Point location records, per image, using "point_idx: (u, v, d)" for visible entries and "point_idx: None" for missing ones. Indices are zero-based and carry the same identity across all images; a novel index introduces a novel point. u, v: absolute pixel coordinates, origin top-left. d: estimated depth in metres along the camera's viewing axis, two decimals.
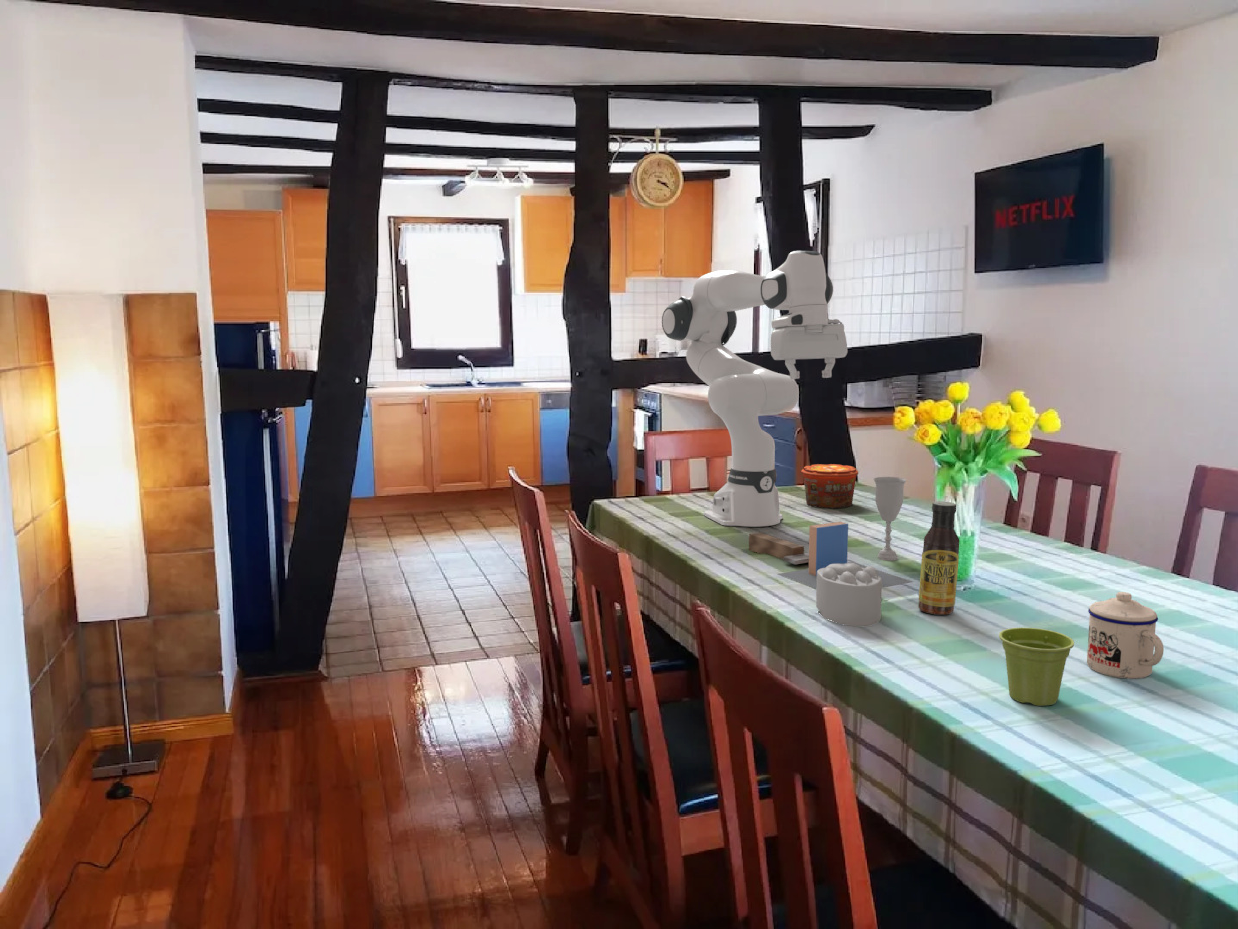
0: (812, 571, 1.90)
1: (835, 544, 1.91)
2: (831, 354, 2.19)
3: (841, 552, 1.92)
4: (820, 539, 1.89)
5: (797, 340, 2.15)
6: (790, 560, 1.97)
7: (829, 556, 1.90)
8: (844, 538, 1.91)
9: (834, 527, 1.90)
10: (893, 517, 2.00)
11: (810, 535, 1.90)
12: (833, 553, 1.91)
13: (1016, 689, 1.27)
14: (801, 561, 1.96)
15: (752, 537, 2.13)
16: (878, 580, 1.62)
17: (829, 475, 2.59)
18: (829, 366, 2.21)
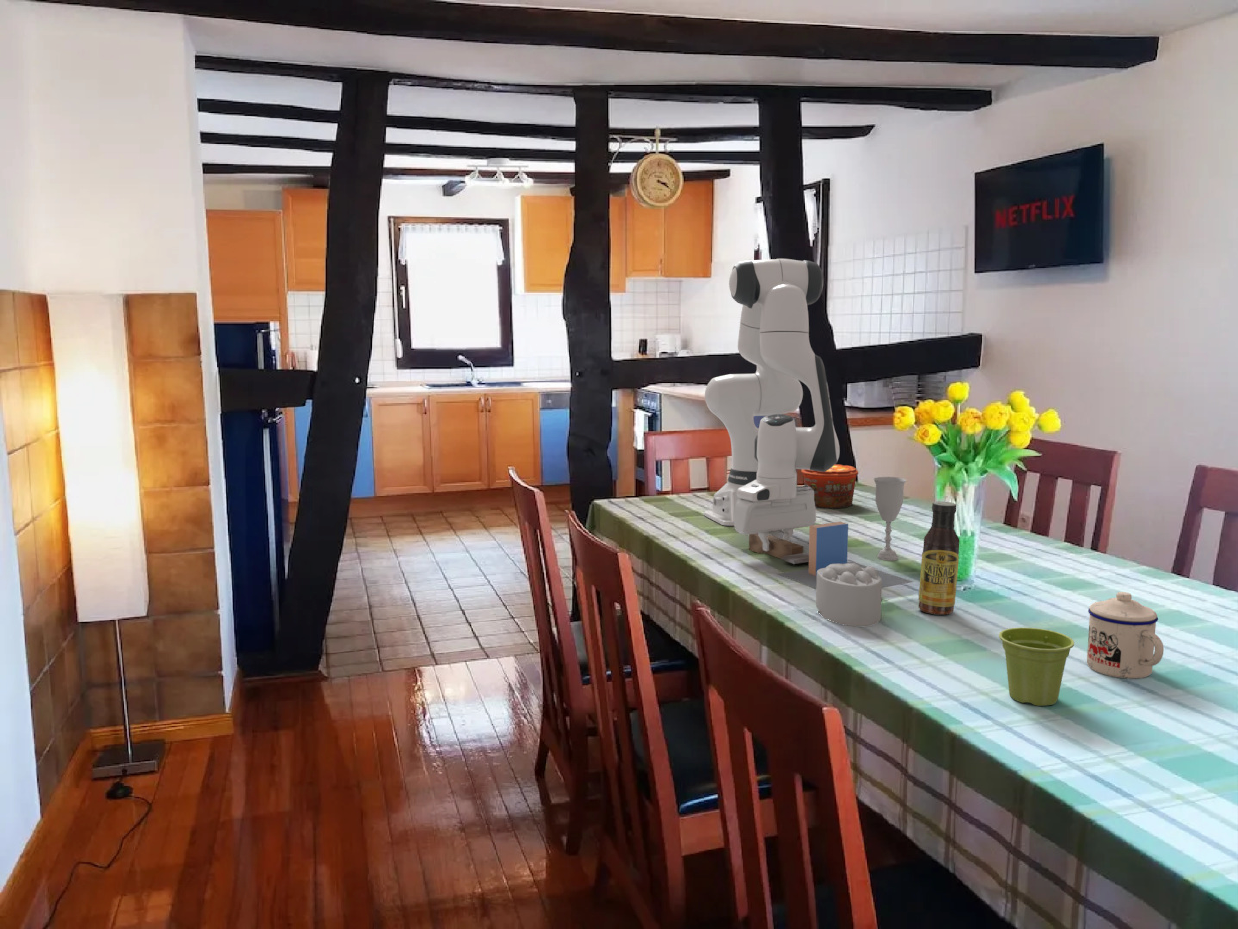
0: (812, 571, 1.90)
1: (835, 544, 1.91)
2: (798, 525, 2.08)
3: (841, 552, 1.92)
4: (820, 539, 1.89)
5: (762, 514, 2.03)
6: (789, 559, 1.97)
7: (829, 556, 1.90)
8: (844, 538, 1.91)
9: (834, 527, 1.90)
10: (893, 517, 2.00)
11: (810, 535, 1.90)
12: (833, 553, 1.91)
13: (1016, 689, 1.27)
14: (800, 561, 1.96)
15: (752, 536, 2.13)
16: (878, 580, 1.62)
17: (829, 475, 2.59)
18: (787, 537, 2.08)
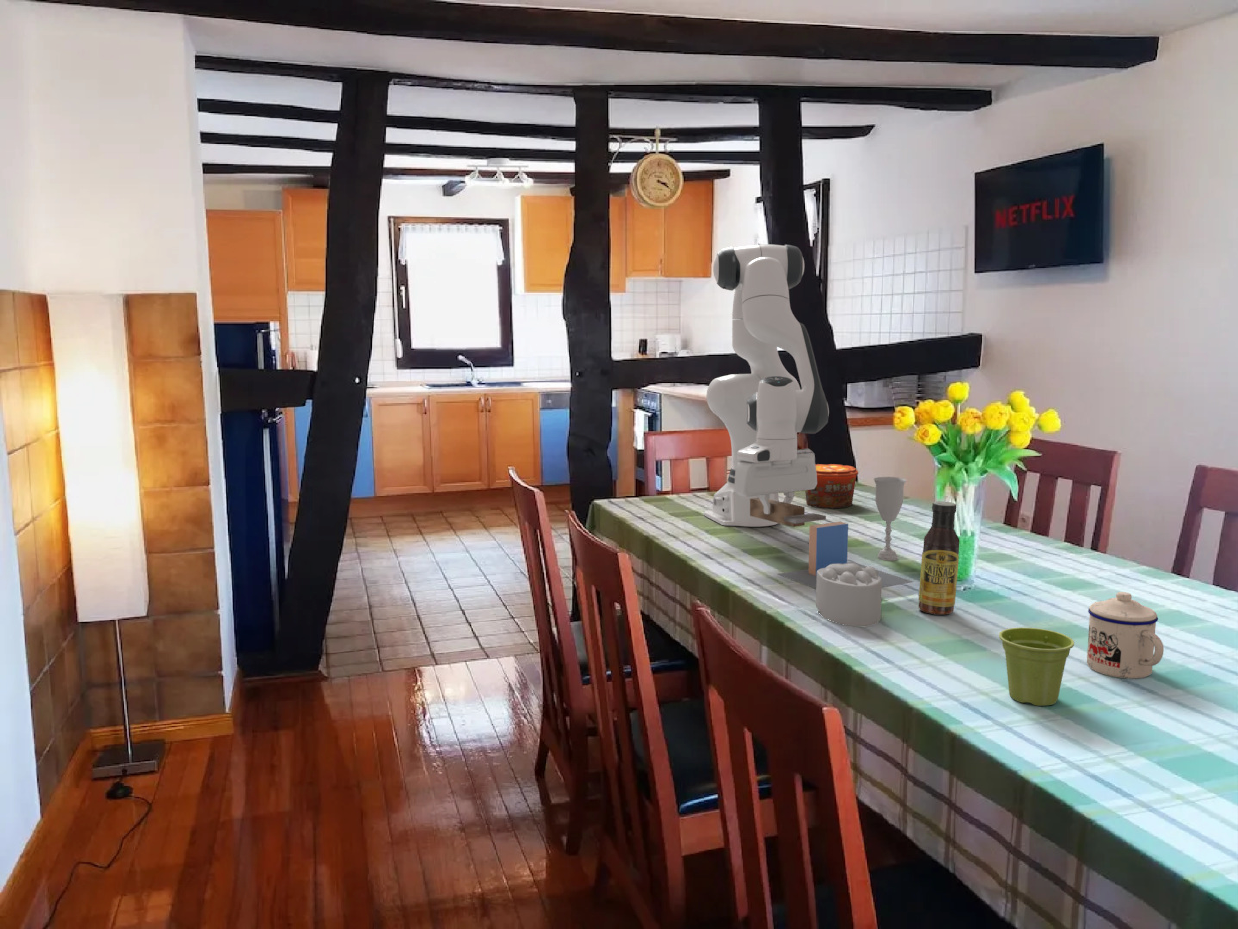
0: (812, 571, 1.90)
1: (835, 544, 1.91)
2: (799, 488, 2.06)
3: (841, 552, 1.92)
4: (820, 539, 1.89)
5: (763, 475, 2.02)
6: (790, 520, 1.95)
7: (829, 556, 1.90)
8: (844, 538, 1.91)
9: (834, 527, 1.90)
10: (893, 517, 2.00)
11: (810, 535, 1.90)
12: (833, 553, 1.91)
13: (1016, 689, 1.27)
14: (801, 520, 1.95)
15: (753, 501, 2.11)
16: (878, 580, 1.62)
17: (829, 475, 2.59)
18: (788, 500, 2.07)
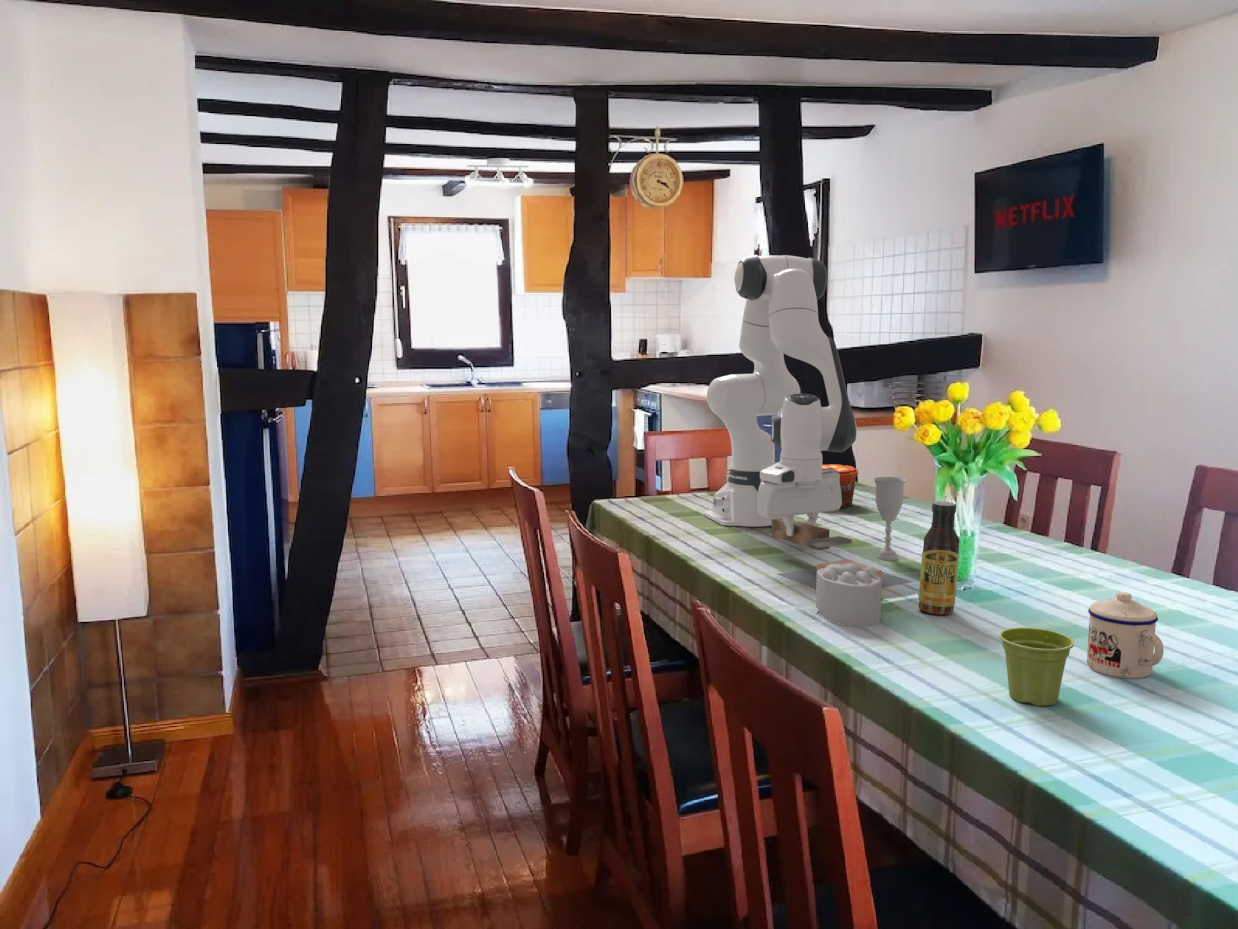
0: None
1: None
2: (823, 509, 1.99)
3: None
4: None
5: (787, 497, 1.95)
6: (815, 543, 1.89)
7: None
8: None
9: None
10: (893, 517, 2.00)
11: None
12: None
13: (1016, 689, 1.27)
14: (827, 544, 1.88)
15: (774, 521, 2.05)
16: (878, 580, 1.62)
17: None
18: (811, 521, 2.00)
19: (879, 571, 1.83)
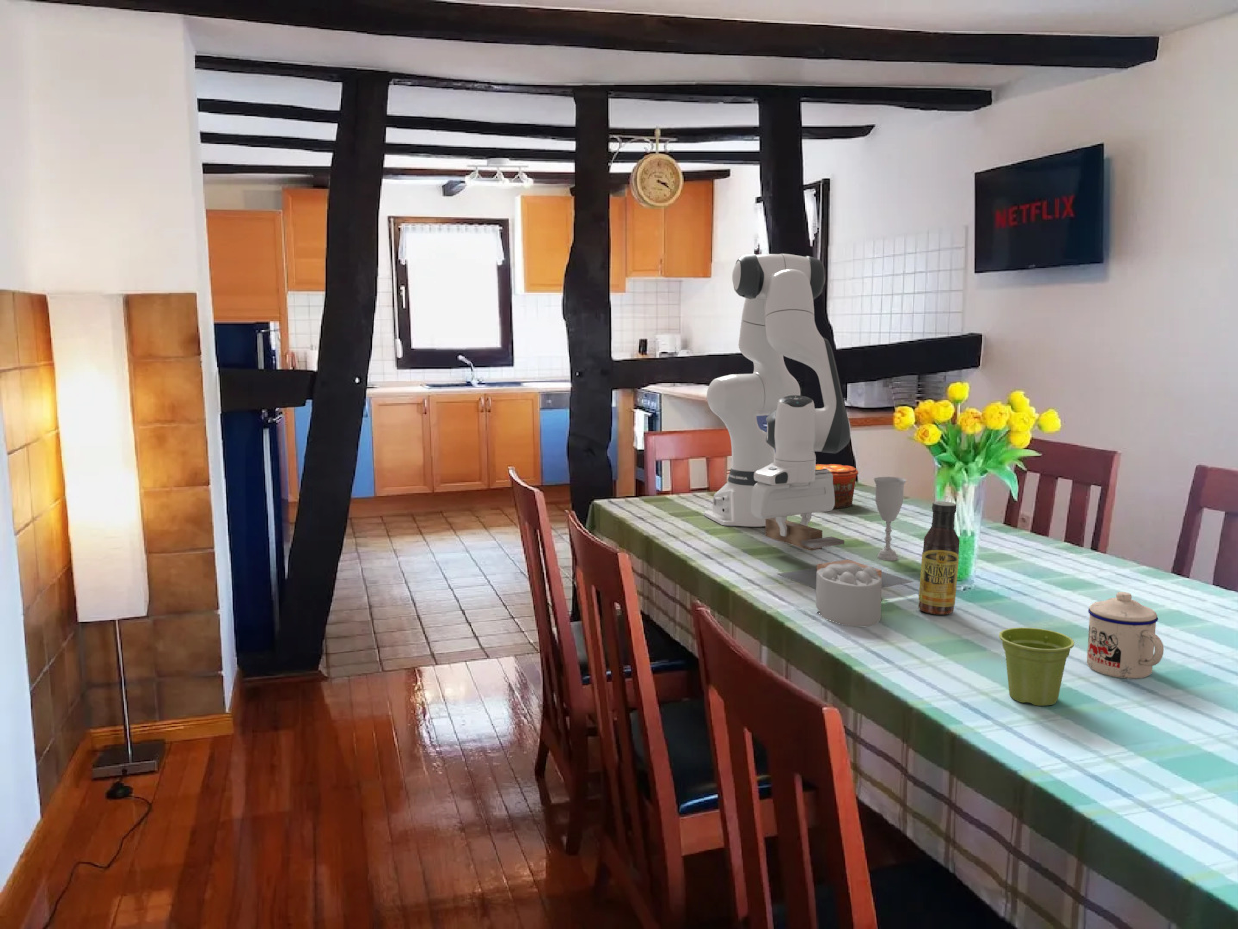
0: None
1: None
2: (816, 509, 2.02)
3: None
4: None
5: (780, 497, 1.97)
6: (808, 544, 1.91)
7: None
8: None
9: None
10: (893, 517, 2.00)
11: None
12: None
13: (1016, 689, 1.27)
14: (819, 545, 1.90)
15: (768, 521, 2.07)
16: (878, 580, 1.62)
17: None
18: (804, 521, 2.02)
19: (879, 571, 1.83)
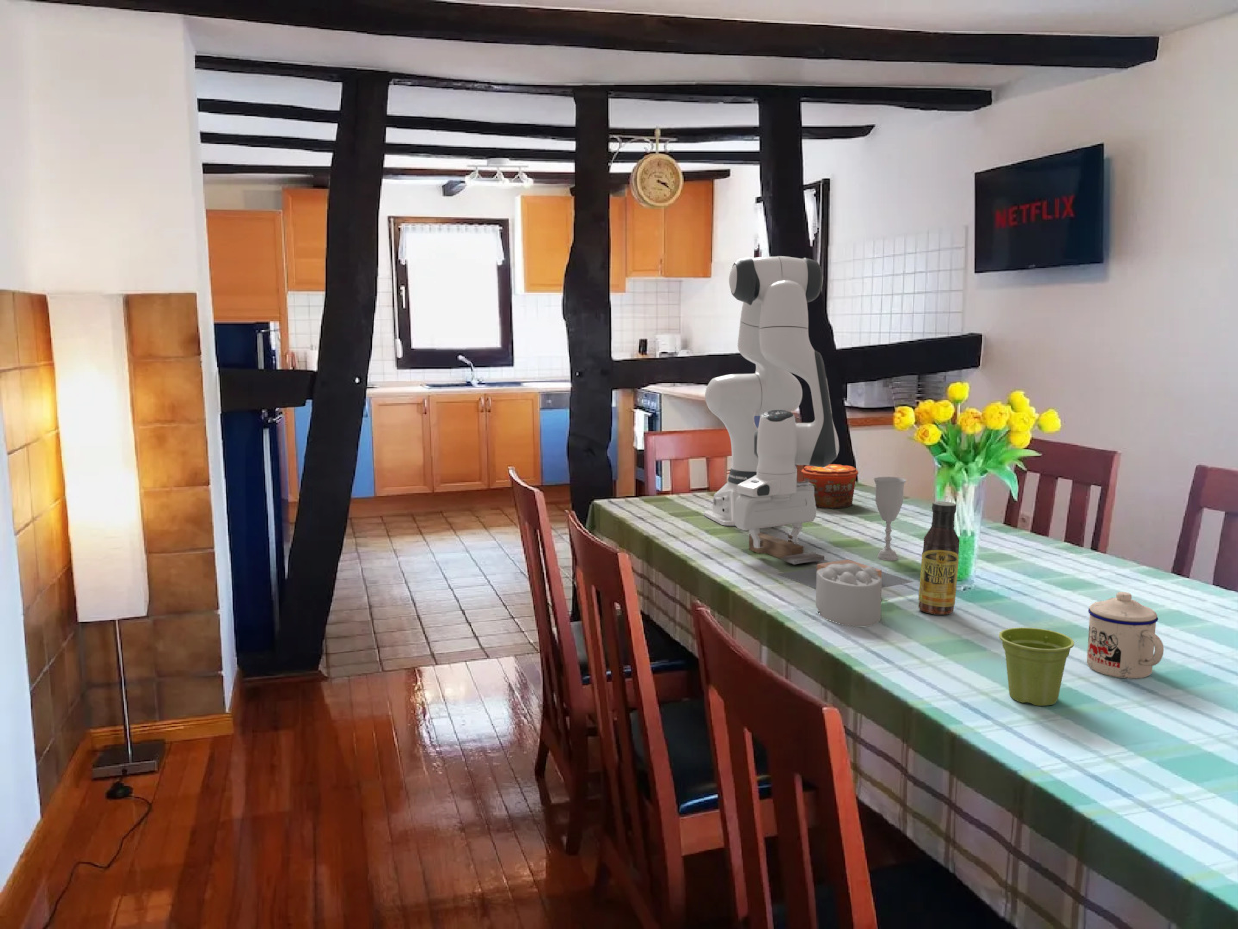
0: None
1: None
2: (798, 520, 2.08)
3: None
4: None
5: (762, 509, 2.03)
6: (789, 560, 1.97)
7: None
8: None
9: None
10: (893, 517, 2.00)
11: None
12: None
13: (1016, 689, 1.27)
14: (800, 561, 1.96)
15: None
16: (878, 580, 1.62)
17: (829, 475, 2.59)
18: (796, 531, 2.09)
19: (879, 571, 1.83)
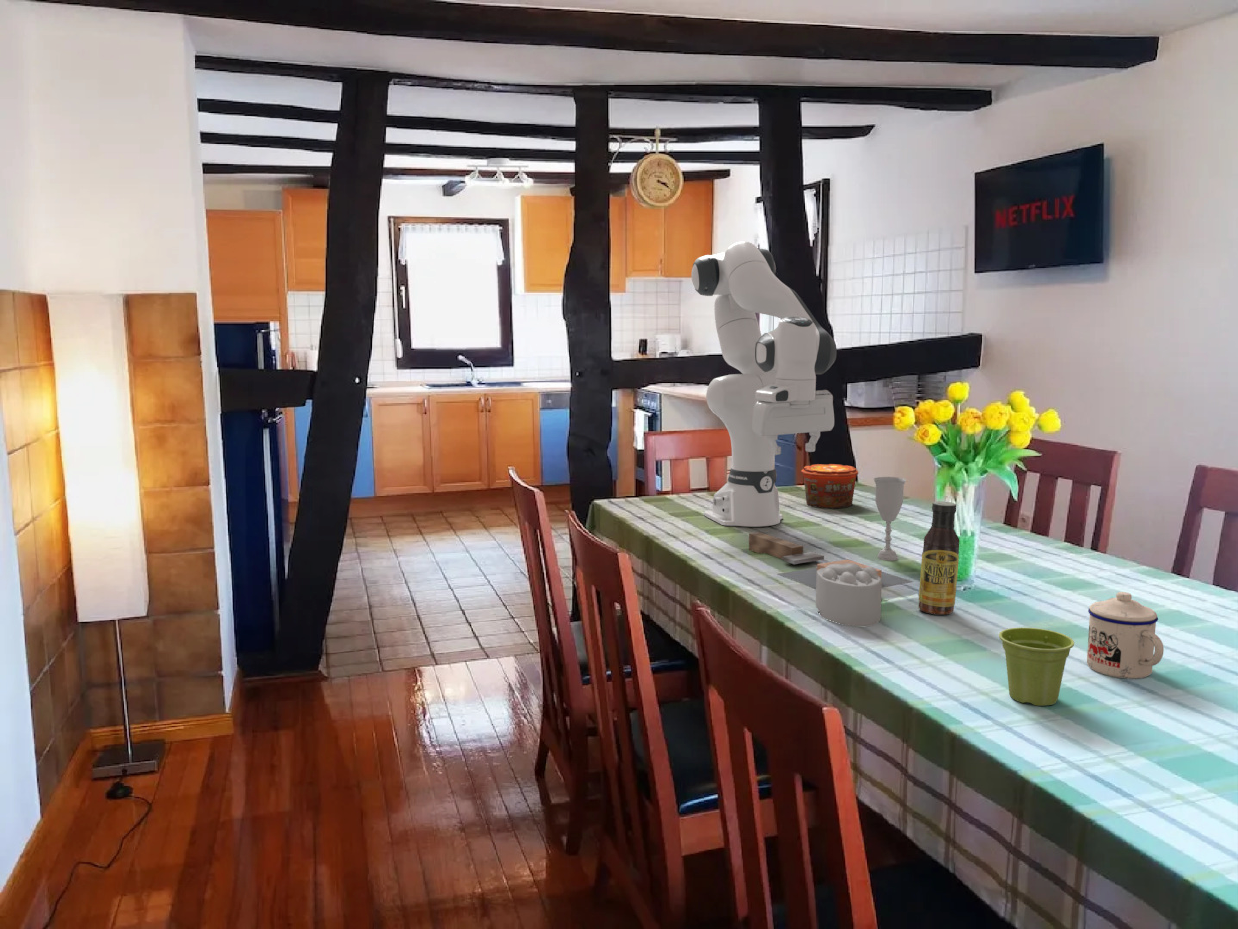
0: None
1: None
2: (816, 429, 2.08)
3: None
4: None
5: (781, 415, 2.03)
6: (789, 560, 1.97)
7: None
8: None
9: None
10: (893, 517, 2.00)
11: None
12: None
13: (1016, 689, 1.27)
14: (800, 561, 1.96)
15: (752, 536, 2.13)
16: (878, 580, 1.62)
17: (829, 475, 2.59)
18: (813, 440, 2.09)
19: (879, 571, 1.83)
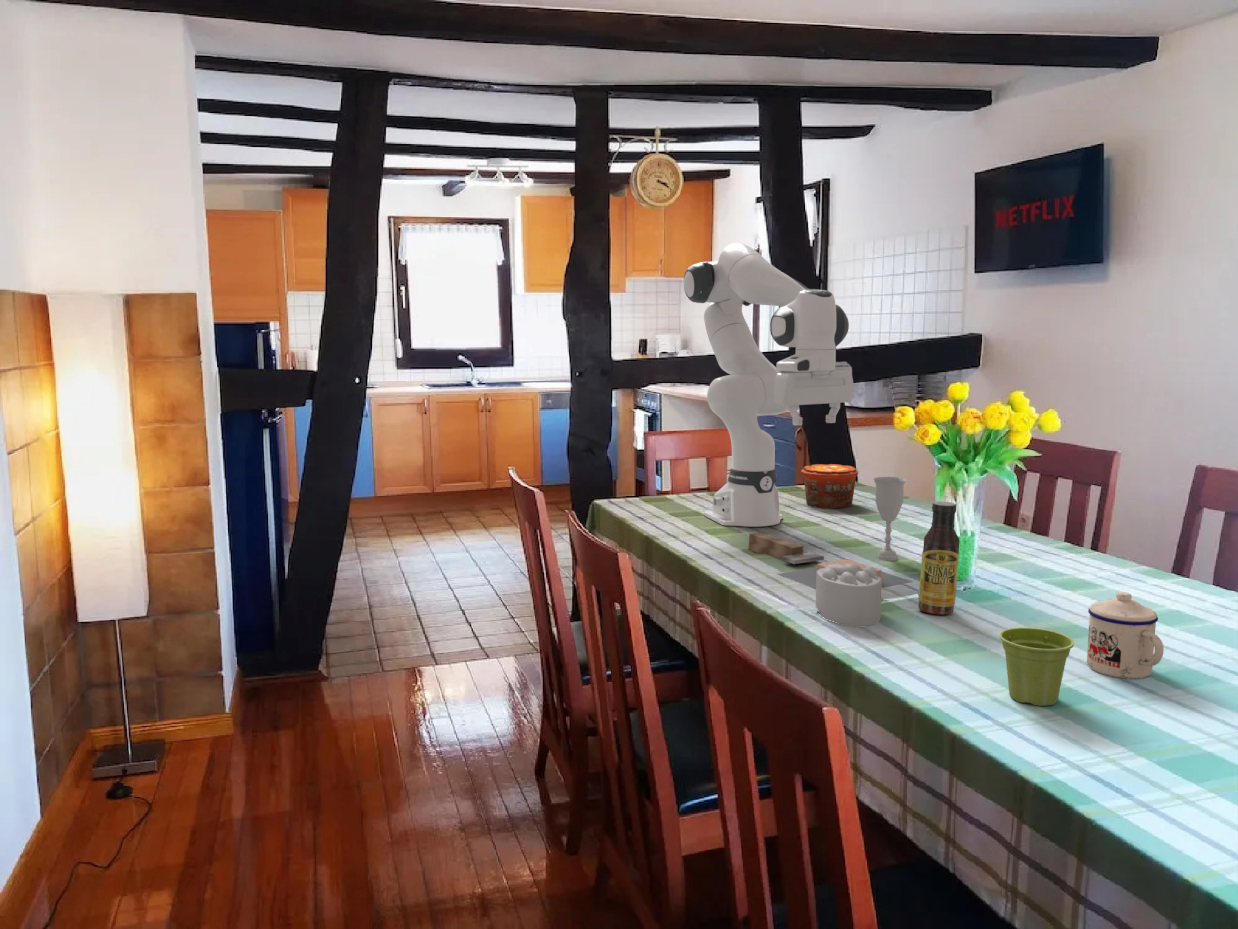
0: None
1: None
2: (836, 399, 2.10)
3: None
4: None
5: (802, 386, 2.05)
6: (789, 560, 1.97)
7: None
8: None
9: None
10: (893, 517, 2.00)
11: None
12: None
13: (1016, 689, 1.27)
14: (800, 561, 1.97)
15: (752, 536, 2.13)
16: (878, 580, 1.62)
17: (829, 475, 2.59)
18: (834, 411, 2.11)
19: (879, 571, 1.83)
